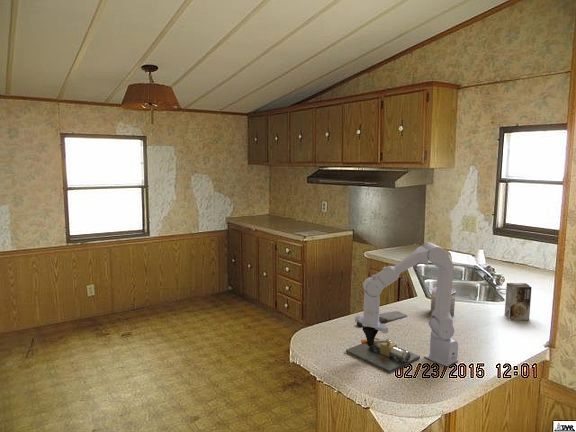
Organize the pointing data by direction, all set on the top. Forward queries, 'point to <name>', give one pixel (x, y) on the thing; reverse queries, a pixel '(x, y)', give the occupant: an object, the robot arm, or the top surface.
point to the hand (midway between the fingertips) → (370, 345)
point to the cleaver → (387, 317)
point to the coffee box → (518, 301)
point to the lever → (377, 341)
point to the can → (433, 299)
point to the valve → (383, 355)
